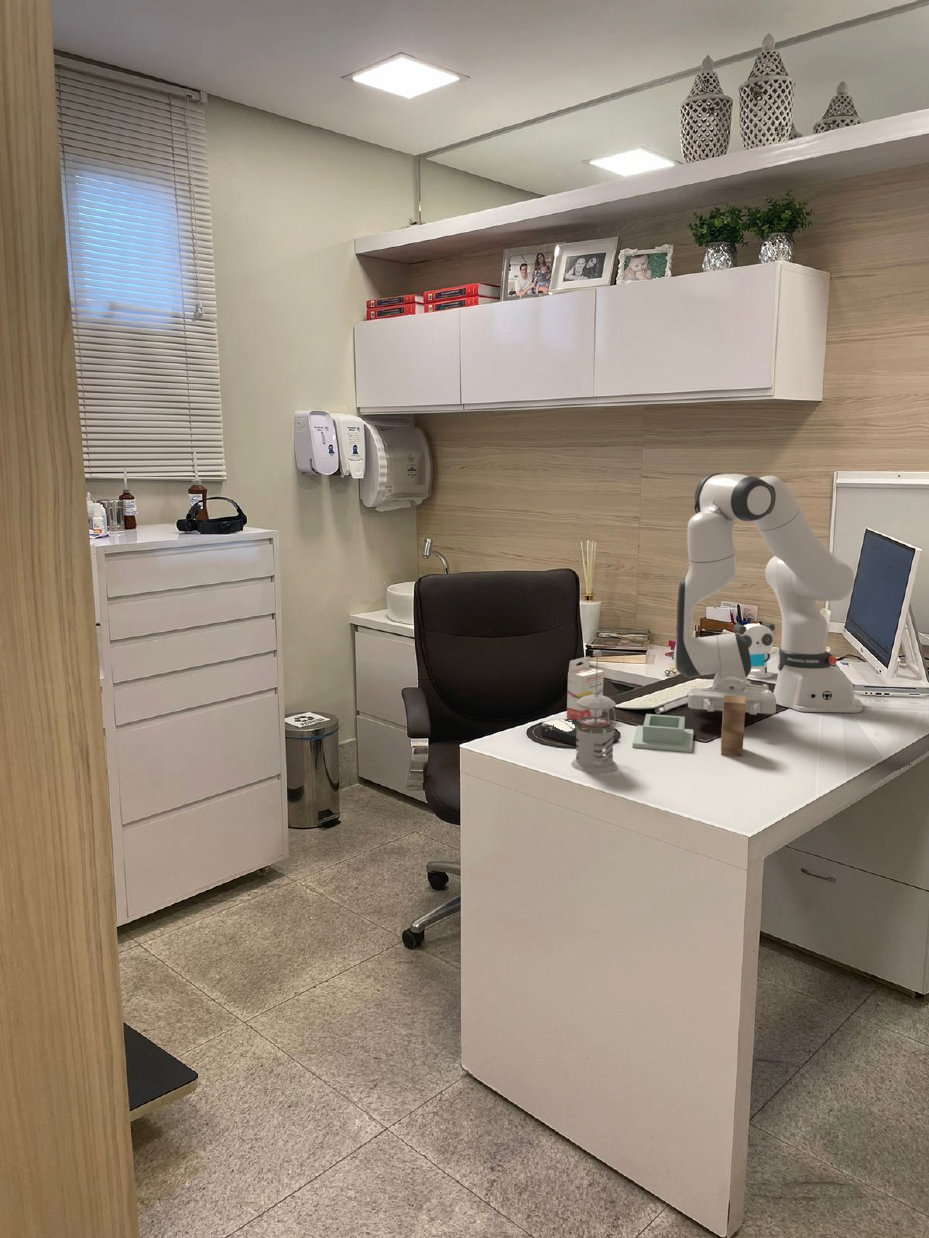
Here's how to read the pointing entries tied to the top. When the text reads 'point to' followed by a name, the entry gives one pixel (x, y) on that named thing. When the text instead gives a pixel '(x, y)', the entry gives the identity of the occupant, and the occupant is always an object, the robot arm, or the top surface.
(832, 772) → the top surface
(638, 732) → the socket dock
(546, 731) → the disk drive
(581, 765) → the french press
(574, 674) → the ink cartridge box
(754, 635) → the panda figurine
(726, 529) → the robot arm
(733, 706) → the walnut block
